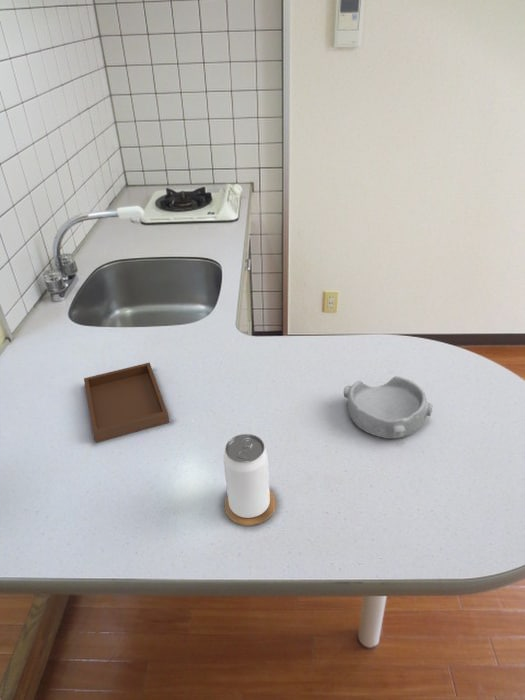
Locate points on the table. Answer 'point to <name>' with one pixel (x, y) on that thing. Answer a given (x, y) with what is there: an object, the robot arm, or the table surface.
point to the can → (247, 475)
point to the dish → (388, 407)
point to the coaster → (254, 520)
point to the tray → (124, 402)
